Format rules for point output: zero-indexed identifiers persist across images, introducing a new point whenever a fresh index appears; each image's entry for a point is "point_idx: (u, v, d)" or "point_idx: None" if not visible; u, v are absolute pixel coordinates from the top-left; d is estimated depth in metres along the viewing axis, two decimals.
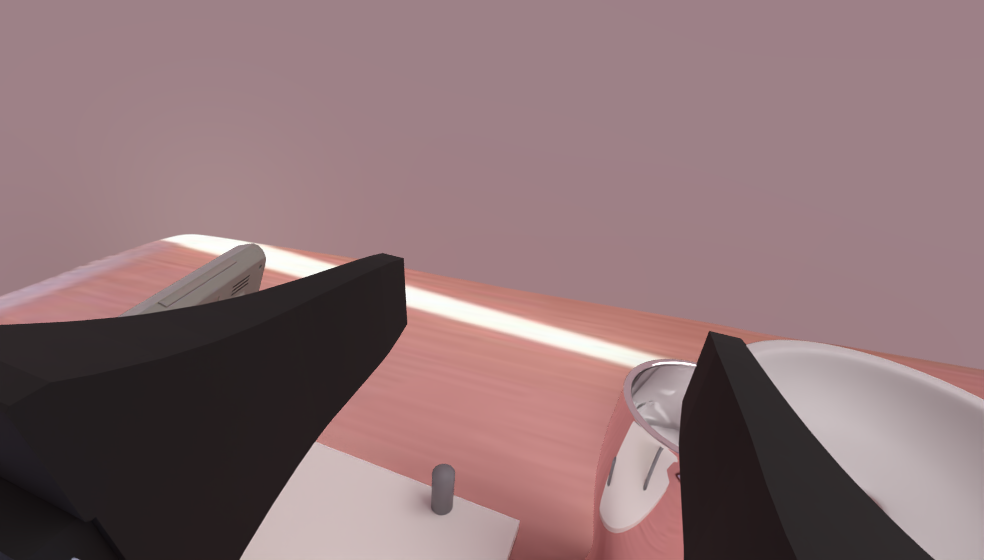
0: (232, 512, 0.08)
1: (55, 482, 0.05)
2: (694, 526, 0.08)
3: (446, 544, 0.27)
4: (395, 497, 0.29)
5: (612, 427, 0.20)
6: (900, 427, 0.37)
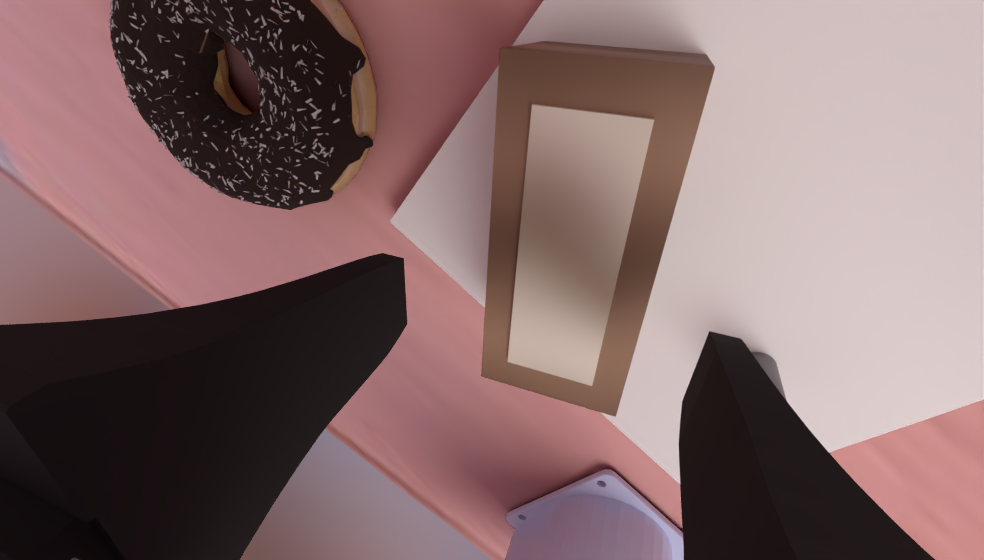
0: (232, 512, 0.08)
1: (55, 482, 0.05)
2: (694, 526, 0.08)
3: None
4: None
5: None
6: None
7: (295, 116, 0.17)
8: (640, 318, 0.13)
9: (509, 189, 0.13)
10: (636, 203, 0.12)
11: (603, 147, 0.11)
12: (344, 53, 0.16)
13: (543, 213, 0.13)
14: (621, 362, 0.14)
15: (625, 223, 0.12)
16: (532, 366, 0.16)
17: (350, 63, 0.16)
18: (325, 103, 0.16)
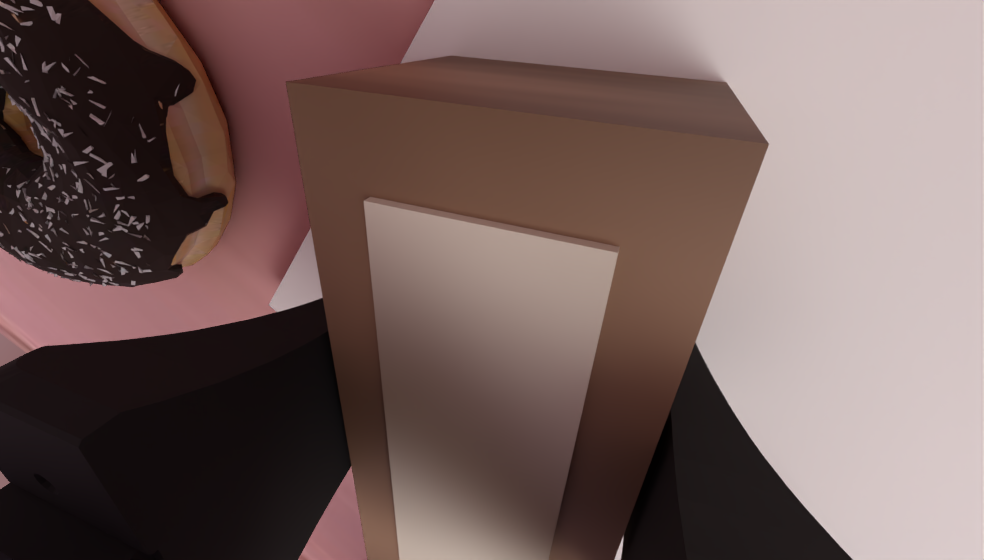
0: (281, 534, 0.07)
1: (122, 515, 0.05)
2: None
3: None
4: None
5: None
6: None
7: (76, 172, 0.11)
8: None
9: (357, 339, 0.07)
10: (589, 395, 0.06)
11: (516, 290, 0.05)
12: (147, 74, 0.10)
13: (419, 389, 0.07)
14: None
15: (569, 429, 0.06)
16: None
17: (160, 89, 0.11)
18: (118, 153, 0.10)
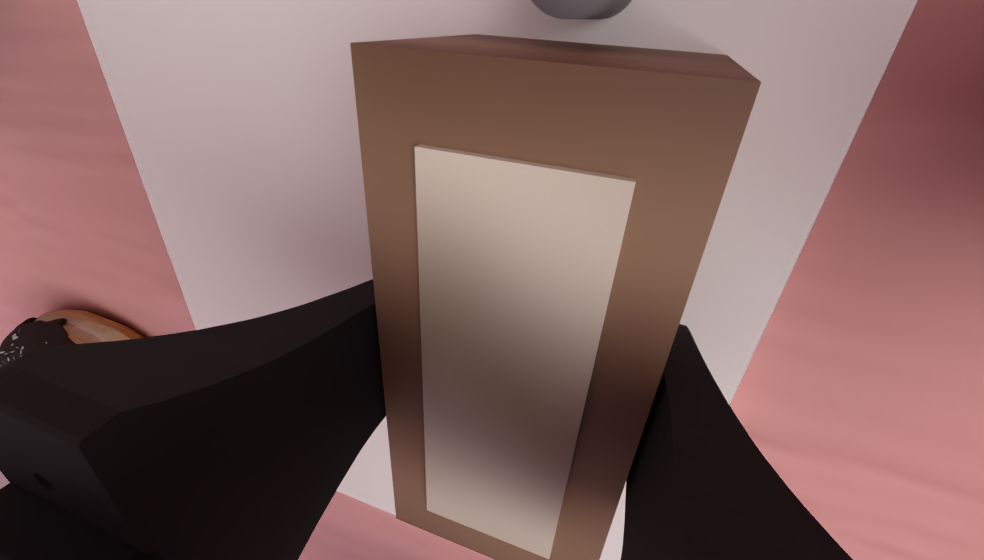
0: (280, 534, 0.07)
1: (121, 515, 0.05)
2: (632, 504, 0.08)
3: None
4: (454, 9, 0.10)
5: None
6: None
7: None
8: (619, 484, 0.08)
9: (399, 280, 0.08)
10: (608, 318, 0.07)
11: (545, 224, 0.06)
12: None
13: (454, 322, 0.08)
14: (591, 535, 0.09)
15: (589, 351, 0.07)
16: (462, 521, 0.10)
17: None
18: None
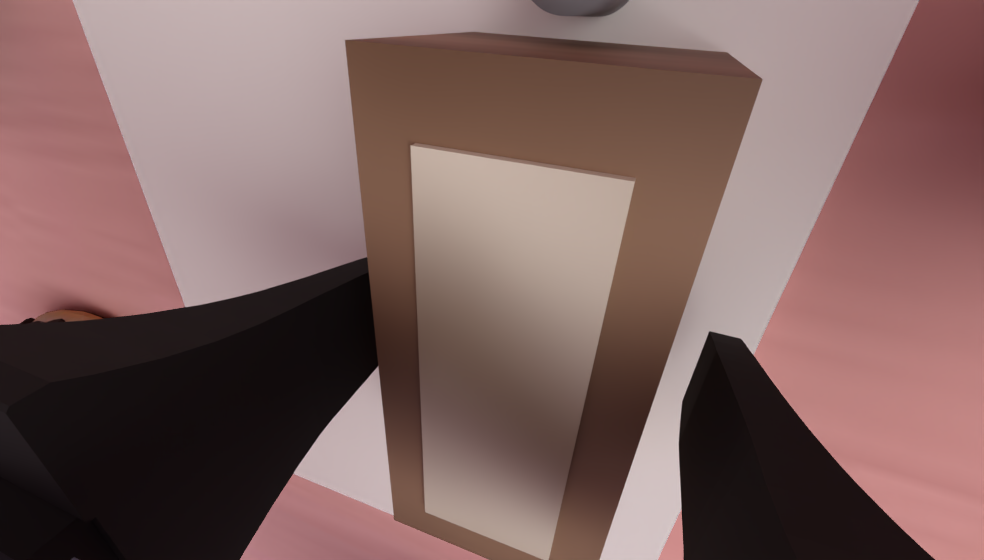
0: (232, 512, 0.08)
1: (55, 482, 0.05)
2: (694, 526, 0.08)
3: None
4: (452, 6, 0.09)
5: None
6: None
7: None
8: (618, 487, 0.08)
9: (396, 280, 0.08)
10: (607, 319, 0.07)
11: (543, 224, 0.06)
12: None
13: (451, 324, 0.07)
14: (590, 538, 0.09)
15: (587, 352, 0.07)
16: (460, 522, 0.10)
17: None
18: None
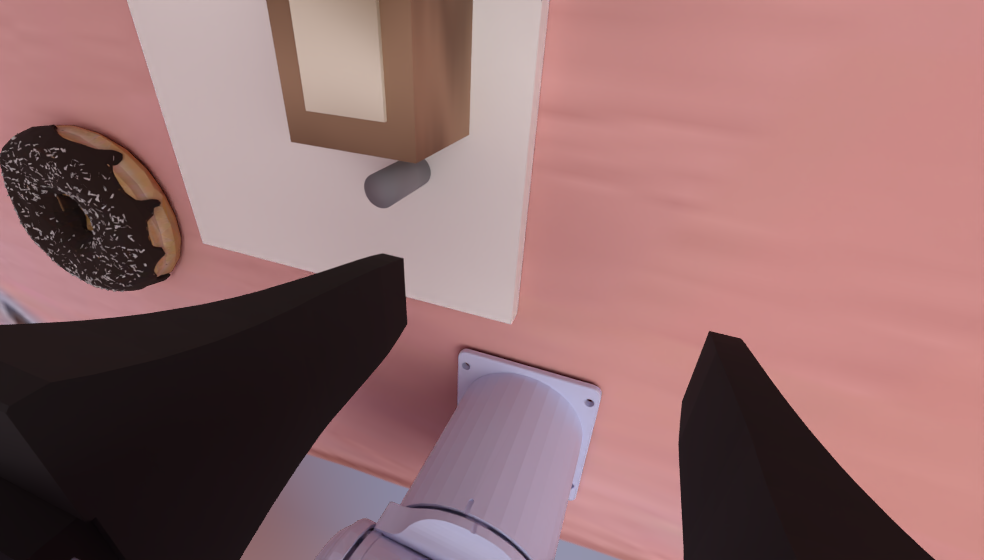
0: (232, 512, 0.08)
1: (55, 482, 0.05)
2: (694, 526, 0.08)
3: None
4: None
5: None
6: None
7: (92, 208, 0.26)
8: (408, 14, 0.12)
9: None
10: None
11: None
12: (100, 156, 0.25)
13: None
14: (404, 84, 0.13)
15: None
16: (328, 111, 0.15)
17: (106, 160, 0.26)
18: (99, 189, 0.25)
